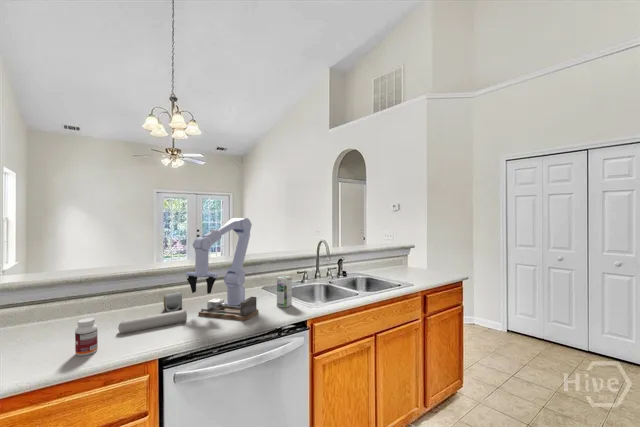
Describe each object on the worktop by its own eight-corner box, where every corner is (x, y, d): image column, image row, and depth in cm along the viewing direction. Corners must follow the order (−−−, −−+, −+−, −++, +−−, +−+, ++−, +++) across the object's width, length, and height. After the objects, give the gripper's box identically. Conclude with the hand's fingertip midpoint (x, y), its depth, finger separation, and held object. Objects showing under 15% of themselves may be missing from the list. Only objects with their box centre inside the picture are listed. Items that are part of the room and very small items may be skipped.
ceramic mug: (164, 307, 164) (164, 291, 164) (182, 305, 167) (182, 290, 167) (163, 314, 154) (163, 297, 154) (182, 311, 157) (182, 295, 157)
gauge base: (198, 315, 151) (198, 299, 151) (214, 308, 162) (214, 292, 162) (245, 320, 144) (245, 303, 144) (258, 312, 155) (258, 296, 155)
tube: (118, 326, 126) (187, 313, 141) (117, 318, 131) (184, 306, 145) (118, 338, 128) (186, 324, 143) (117, 330, 132) (183, 317, 147)
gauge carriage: (203, 312, 150) (203, 303, 150) (215, 306, 159) (215, 298, 159) (218, 313, 148) (218, 304, 148) (229, 308, 156) (229, 299, 156)
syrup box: (276, 306, 165) (276, 277, 165) (282, 303, 170) (282, 275, 170) (285, 307, 163) (285, 278, 162) (292, 304, 168) (292, 276, 168)
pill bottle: (77, 350, 114) (76, 318, 113) (98, 347, 116) (98, 315, 116) (73, 357, 108) (73, 324, 108) (96, 354, 111) (96, 321, 111)
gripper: (182, 264, 151) (182, 293, 151) (212, 265, 148) (211, 295, 148) (191, 261, 158) (190, 290, 158) (219, 263, 155) (219, 292, 155)
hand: (201, 292), depth 153 cm, fingers open, 7 cm apart
